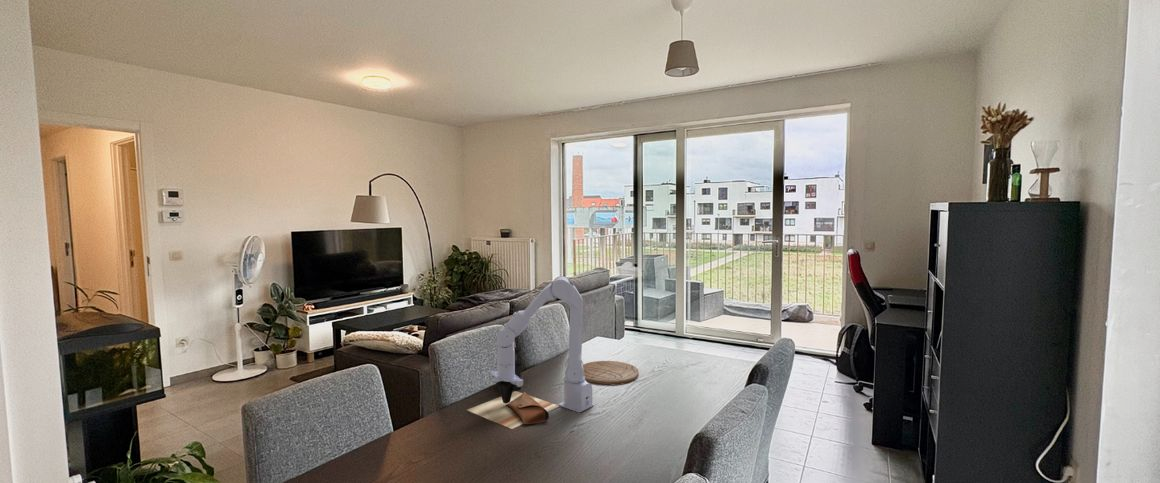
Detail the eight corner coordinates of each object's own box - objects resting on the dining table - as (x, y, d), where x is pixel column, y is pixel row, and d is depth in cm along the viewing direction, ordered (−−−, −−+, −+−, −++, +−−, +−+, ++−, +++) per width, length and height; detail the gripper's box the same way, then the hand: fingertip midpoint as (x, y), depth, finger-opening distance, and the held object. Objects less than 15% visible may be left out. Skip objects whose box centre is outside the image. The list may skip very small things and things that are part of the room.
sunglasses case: (503, 404, 161) (512, 386, 163) (520, 411, 165) (529, 393, 166) (524, 424, 146) (534, 404, 147) (542, 431, 149) (552, 411, 150)
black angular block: (516, 388, 173) (509, 347, 178) (504, 393, 184) (497, 354, 188) (526, 386, 175) (518, 346, 180) (513, 391, 186) (506, 353, 190)
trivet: (599, 361, 212) (599, 357, 211) (649, 372, 197) (649, 367, 197) (564, 377, 191) (564, 372, 191) (618, 390, 177) (618, 385, 177)
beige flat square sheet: (560, 406, 161) (560, 406, 161) (511, 429, 144) (511, 428, 144) (515, 391, 175) (515, 390, 175) (466, 410, 158) (466, 409, 158)
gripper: (483, 361, 163) (483, 400, 163) (512, 370, 153) (512, 411, 154) (498, 356, 168) (499, 394, 169) (527, 365, 159) (528, 404, 160)
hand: (506, 402), depth 162 cm, fingers closed
